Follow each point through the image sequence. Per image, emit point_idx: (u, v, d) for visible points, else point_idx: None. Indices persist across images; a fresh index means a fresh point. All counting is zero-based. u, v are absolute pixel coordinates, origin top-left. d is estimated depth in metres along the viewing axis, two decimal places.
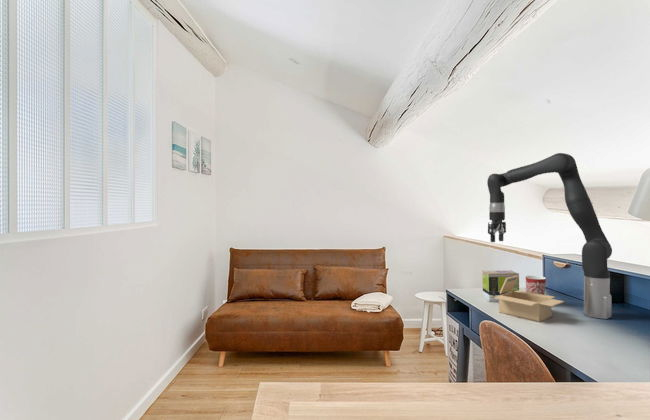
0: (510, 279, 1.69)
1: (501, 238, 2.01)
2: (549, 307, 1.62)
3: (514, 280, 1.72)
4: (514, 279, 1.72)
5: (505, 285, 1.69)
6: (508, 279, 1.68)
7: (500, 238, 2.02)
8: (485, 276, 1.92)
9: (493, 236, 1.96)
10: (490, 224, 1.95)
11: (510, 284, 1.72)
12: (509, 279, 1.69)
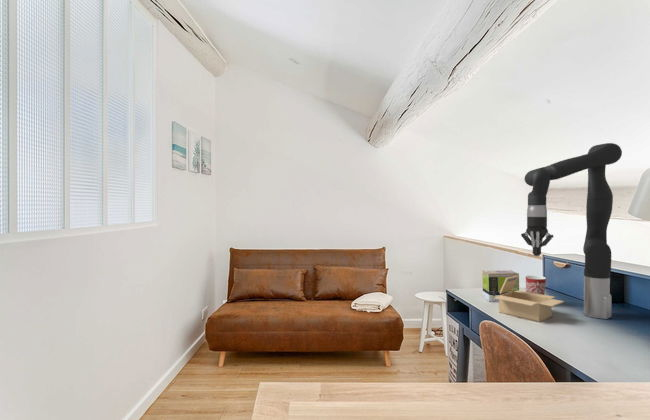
0: (510, 279, 1.69)
1: None
2: (549, 307, 1.62)
3: (514, 280, 1.72)
4: (514, 279, 1.72)
5: (505, 285, 1.69)
6: (508, 279, 1.68)
7: None
8: (485, 276, 1.92)
9: None
10: (551, 238, 1.57)
11: (510, 284, 1.72)
12: (509, 279, 1.69)
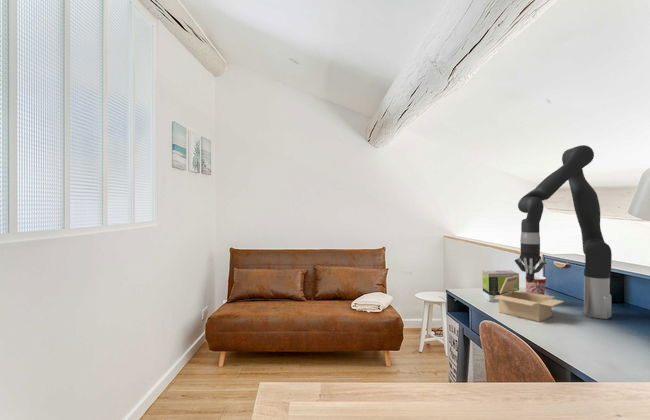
0: (510, 279, 1.69)
1: None
2: (549, 307, 1.62)
3: (514, 280, 1.72)
4: (514, 279, 1.72)
5: (505, 285, 1.69)
6: (508, 279, 1.68)
7: None
8: (485, 276, 1.92)
9: None
10: (544, 265, 1.59)
11: (510, 284, 1.72)
12: (509, 279, 1.69)
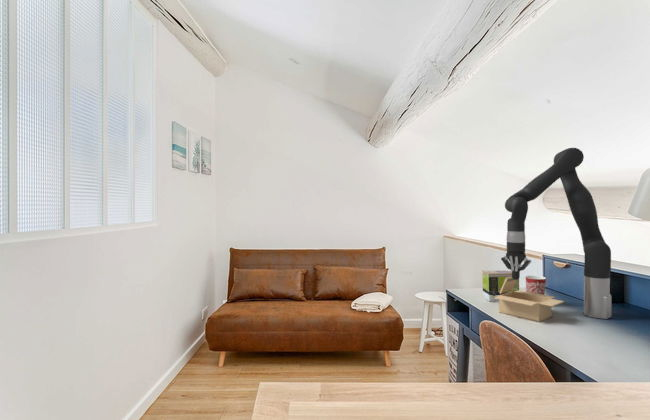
0: (510, 279, 1.69)
1: None
2: (549, 307, 1.62)
3: (514, 279, 1.72)
4: (513, 279, 1.72)
5: (505, 285, 1.69)
6: (508, 279, 1.68)
7: None
8: (485, 276, 1.92)
9: None
10: (529, 263, 1.64)
11: (510, 284, 1.72)
12: (509, 279, 1.69)
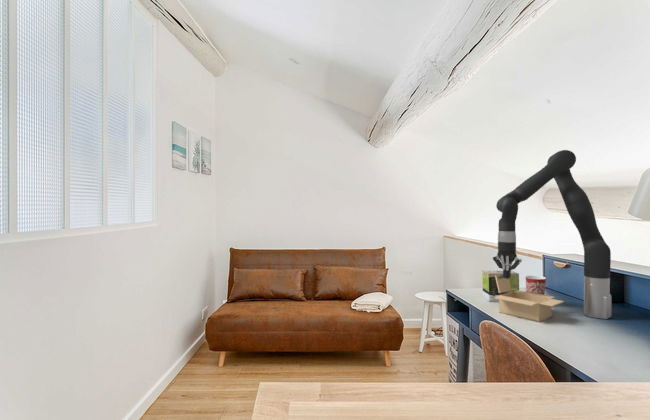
0: (500, 276, 1.73)
1: None
2: (549, 307, 1.62)
3: None
4: None
5: (499, 283, 1.71)
6: (498, 276, 1.72)
7: None
8: (485, 276, 1.92)
9: None
10: (519, 262, 1.68)
11: (504, 282, 1.74)
12: (499, 276, 1.72)
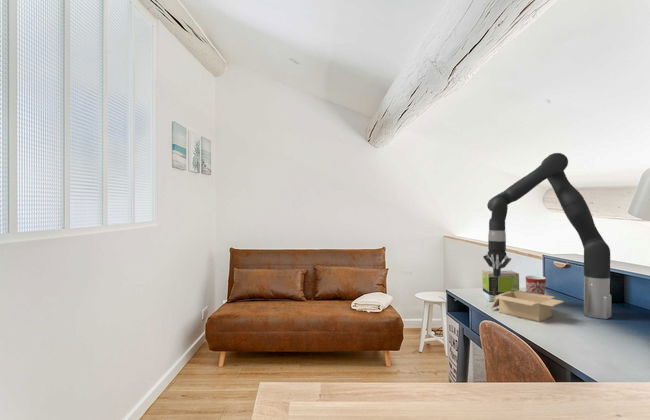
0: None
1: None
2: (549, 307, 1.62)
3: None
4: None
5: None
6: None
7: None
8: (485, 276, 1.92)
9: None
10: (509, 260, 1.71)
11: None
12: None
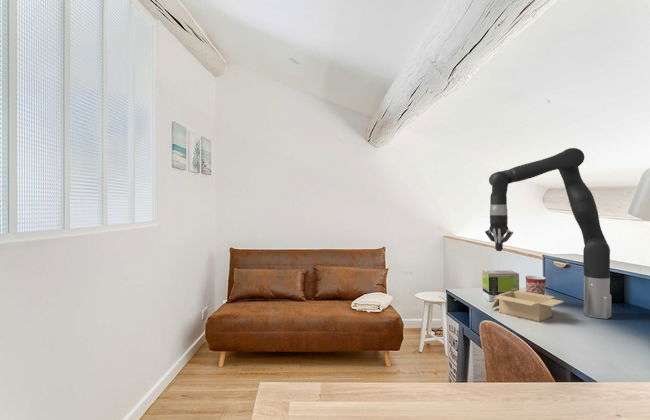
0: None
1: None
2: (549, 307, 1.62)
3: None
4: None
5: None
6: None
7: None
8: (485, 276, 1.92)
9: None
10: (511, 234, 1.71)
11: None
12: None
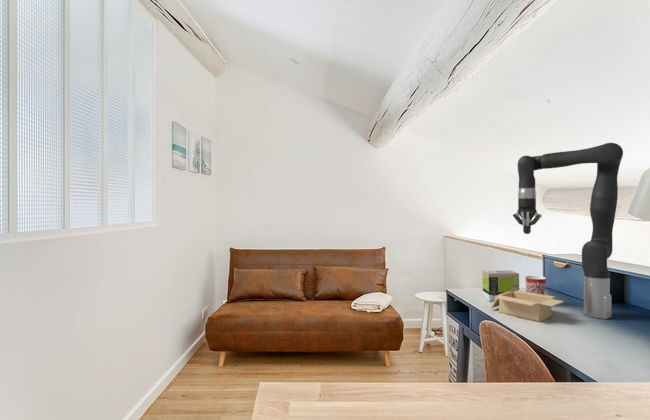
0: None
1: None
2: (549, 307, 1.62)
3: None
4: None
5: None
6: None
7: None
8: (485, 276, 1.92)
9: None
10: (539, 217, 1.75)
11: None
12: None
